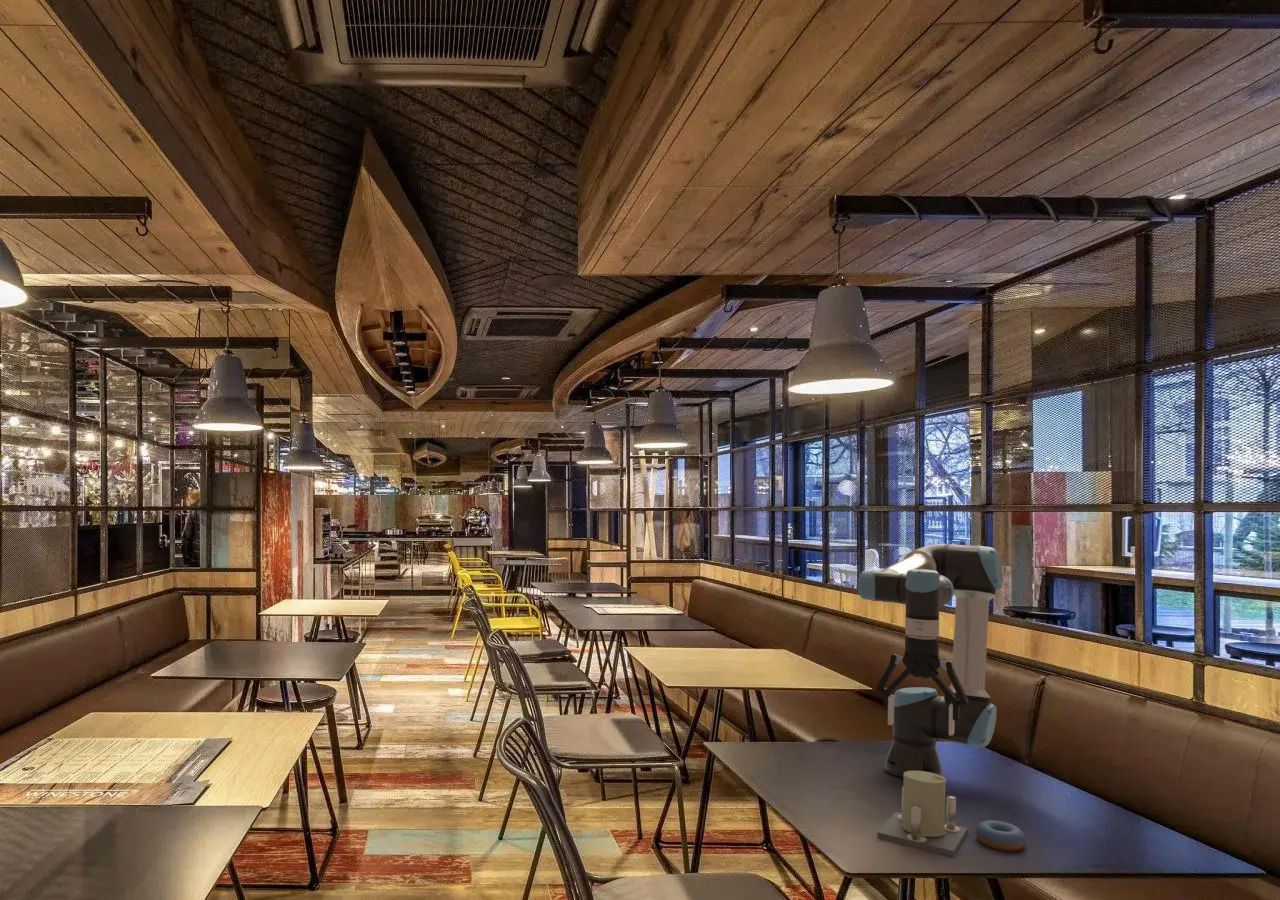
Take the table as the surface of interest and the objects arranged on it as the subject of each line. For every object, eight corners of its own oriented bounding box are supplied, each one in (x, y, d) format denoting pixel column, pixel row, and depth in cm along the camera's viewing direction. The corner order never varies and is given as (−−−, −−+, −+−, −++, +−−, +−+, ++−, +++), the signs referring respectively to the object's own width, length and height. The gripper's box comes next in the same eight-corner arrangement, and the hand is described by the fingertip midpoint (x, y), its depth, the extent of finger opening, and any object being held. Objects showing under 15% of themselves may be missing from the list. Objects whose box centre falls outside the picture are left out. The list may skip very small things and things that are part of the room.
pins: (902, 816, 191) (903, 785, 192) (956, 828, 185) (956, 796, 186) (886, 834, 180) (887, 801, 180) (943, 848, 173) (944, 814, 174)
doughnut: (996, 853, 175) (998, 830, 175) (965, 837, 184) (966, 816, 185) (1035, 855, 177) (1036, 832, 178) (1002, 839, 187) (1003, 818, 188)
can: (948, 839, 178) (949, 782, 179) (904, 834, 180) (905, 777, 181) (941, 825, 187) (943, 771, 188) (899, 820, 189) (901, 766, 190)
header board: (895, 817, 194) (895, 810, 194) (967, 833, 186) (967, 827, 186) (877, 837, 181) (877, 831, 181) (953, 856, 172) (953, 849, 172)
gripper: (864, 632, 194) (862, 723, 193) (976, 645, 182) (975, 742, 181) (872, 628, 201) (870, 716, 200) (981, 640, 188) (980, 734, 187)
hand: (920, 729), depth 190 cm, fingers open, 13 cm apart
